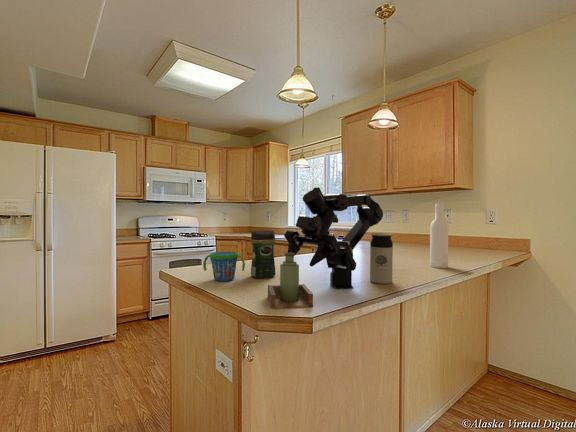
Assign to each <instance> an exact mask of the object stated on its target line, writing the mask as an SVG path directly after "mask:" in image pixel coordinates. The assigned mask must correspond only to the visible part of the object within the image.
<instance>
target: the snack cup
mask: <svg viewBox="0 0 576 432" xmlns="http://www.w3.org/2000/svg"><path fill="white" fill-rule="evenodd" d="M238 258H240V259H241V262H242V265H241V266H242V267H241V268H242V269H241V271H242V272H244V271H245V268H246V267H245V266H246V263H245V258H244V257H243V256H242V255H241V254H239V253H238V252H237V251H214V252H211V253H210V254H208V255H207V256H205V257H204V260H203V265H202V267H203V271H205V272H206V271H207V270H208V269H207V261H208V259H210V262H211V267H212V275H213V278H214V281H216V282H229V281H233V280H234V279H235V277H236V276H235V275H236V269H237V262H238Z"/></svg>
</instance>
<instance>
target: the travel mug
mask: <svg viewBox="0 0 576 432" xmlns="http://www.w3.org/2000/svg"><path fill="white" fill-rule="evenodd" d="M392 235H393V233H388V232H387V233H386V232H385V233H384V232H373V233H371V238H372V239H371V241H370V244H369V245H370V253H369V255H370V256H369V258H370V259H369V263H370V264H369V281H370V282H372V283H374V284H380V285H387V284H388V285H389V284H392V283H393V264H394V263H393V257H394V256H393V255H394V254H393V251H394V250H393V247H394V245H393V243H394V242H393V241H392Z"/></svg>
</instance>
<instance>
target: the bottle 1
mask: <svg viewBox="0 0 576 432" xmlns="http://www.w3.org/2000/svg"><path fill="white" fill-rule="evenodd" d="M284 256H285V258H284V260H285V261H282V263H281V264H280V265H279V270H280V271H279V274H280V275H279V285H280V300H281V301H283V302H296V301H298V300H299V284H300V283H299V282H300V264H298V263H297V261H294V259H295V256H294V253H287V252H284Z"/></svg>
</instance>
